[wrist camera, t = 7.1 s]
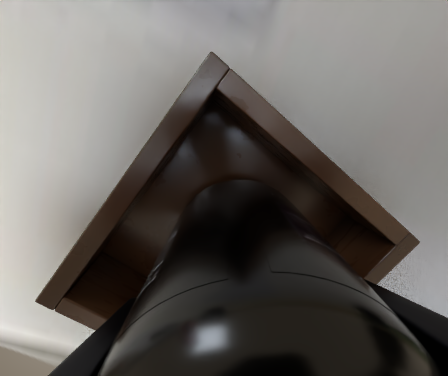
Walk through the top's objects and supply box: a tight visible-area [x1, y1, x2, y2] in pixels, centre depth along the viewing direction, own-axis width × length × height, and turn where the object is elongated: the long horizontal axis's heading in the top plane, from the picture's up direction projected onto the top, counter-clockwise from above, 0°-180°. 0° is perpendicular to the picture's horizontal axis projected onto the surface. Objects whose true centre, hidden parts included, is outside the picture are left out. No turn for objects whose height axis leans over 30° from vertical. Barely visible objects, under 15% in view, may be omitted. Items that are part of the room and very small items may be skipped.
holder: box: [35, 52, 420, 330], centre depth 11 cm, size 12×12×4 cm
